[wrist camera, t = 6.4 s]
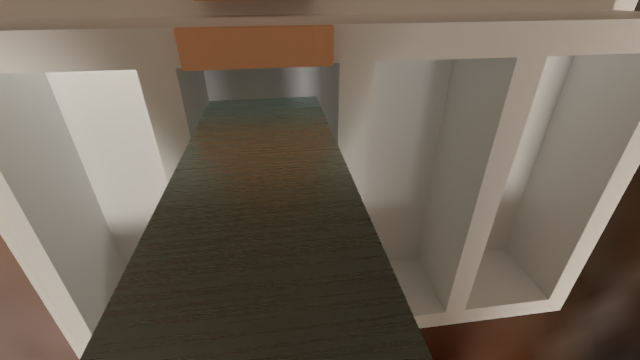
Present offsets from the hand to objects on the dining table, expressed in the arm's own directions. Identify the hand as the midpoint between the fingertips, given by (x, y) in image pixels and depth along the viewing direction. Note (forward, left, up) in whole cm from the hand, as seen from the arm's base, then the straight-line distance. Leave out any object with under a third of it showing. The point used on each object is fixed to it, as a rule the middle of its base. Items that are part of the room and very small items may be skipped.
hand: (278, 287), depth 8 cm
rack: (+1, -2, -6) cm, 7 cm away
